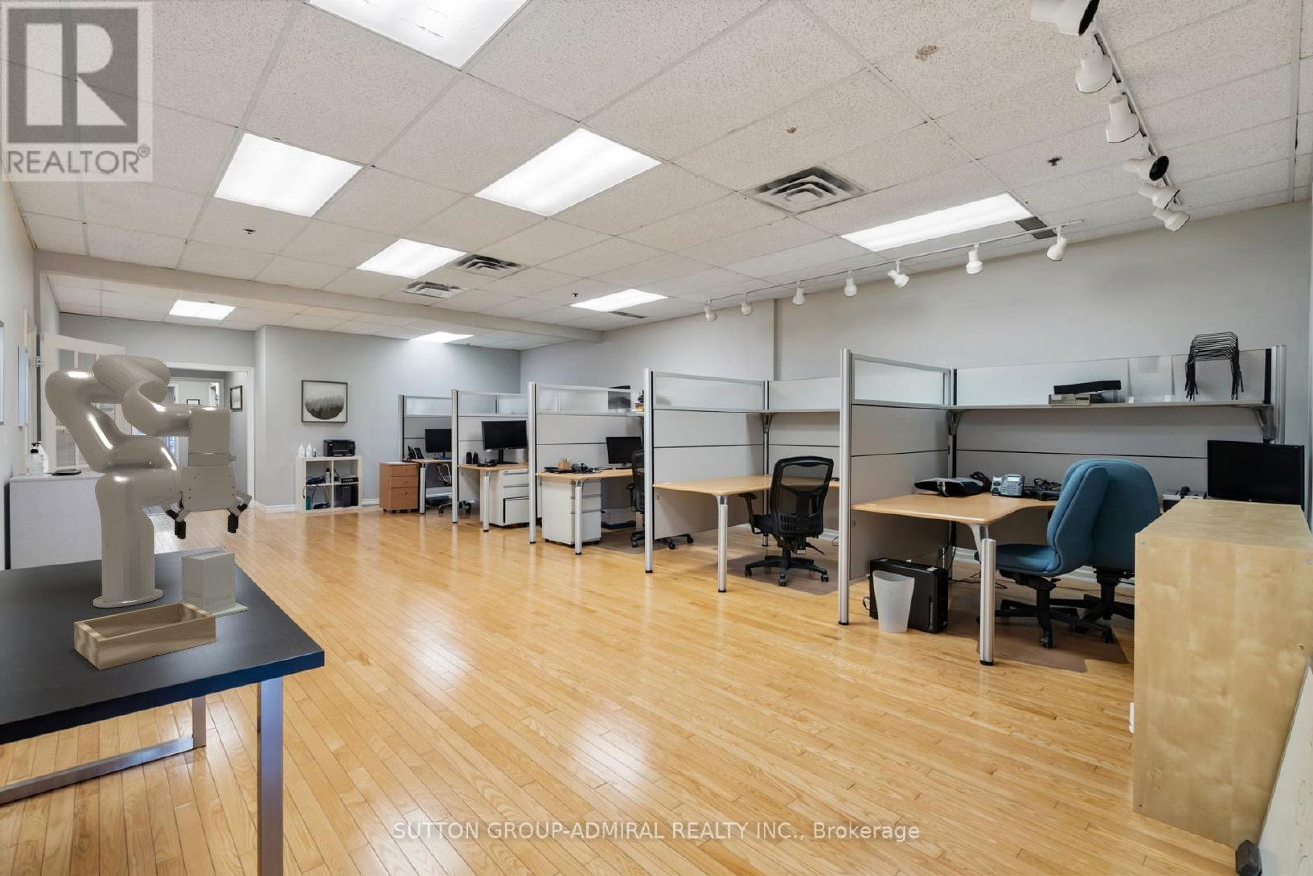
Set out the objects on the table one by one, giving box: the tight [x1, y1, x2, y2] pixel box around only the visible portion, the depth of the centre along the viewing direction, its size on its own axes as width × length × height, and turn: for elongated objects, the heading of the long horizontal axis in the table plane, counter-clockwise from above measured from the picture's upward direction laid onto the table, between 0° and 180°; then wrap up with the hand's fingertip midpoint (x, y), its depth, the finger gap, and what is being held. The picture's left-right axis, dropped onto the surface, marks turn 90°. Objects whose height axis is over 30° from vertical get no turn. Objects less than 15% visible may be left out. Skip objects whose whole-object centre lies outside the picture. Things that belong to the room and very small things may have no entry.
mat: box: [210, 601, 249, 618], centre depth 135 cm, size 11×11×1 cm
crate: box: [73, 600, 217, 671], centre depth 114 cm, size 17×17×5 cm
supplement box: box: [180, 550, 236, 613], centre depth 134 cm, size 7×7×13 cm
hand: (207, 535), depth 135 cm, fingers open, 9 cm apart
